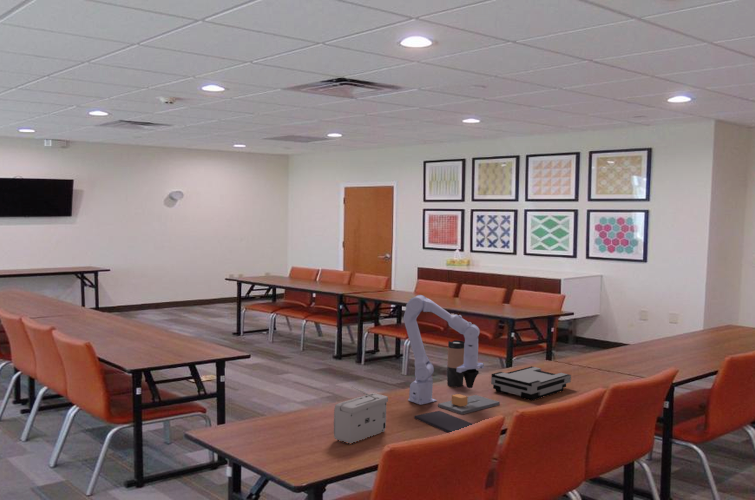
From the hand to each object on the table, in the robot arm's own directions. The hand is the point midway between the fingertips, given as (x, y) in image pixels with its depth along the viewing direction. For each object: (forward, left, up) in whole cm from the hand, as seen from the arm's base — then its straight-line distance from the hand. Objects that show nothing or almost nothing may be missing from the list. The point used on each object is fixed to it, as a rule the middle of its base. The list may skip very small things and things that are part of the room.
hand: (469, 387), depth 278 cm
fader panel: (0, 0, -8) cm, 8 cm away
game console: (+41, 0, -8) cm, 42 cm away
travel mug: (+20, +26, -8) cm, 33 cm away
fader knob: (-6, 0, -6) cm, 8 cm away
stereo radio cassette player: (-59, -3, -8) cm, 60 cm away
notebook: (-24, -10, -8) cm, 28 cm away
